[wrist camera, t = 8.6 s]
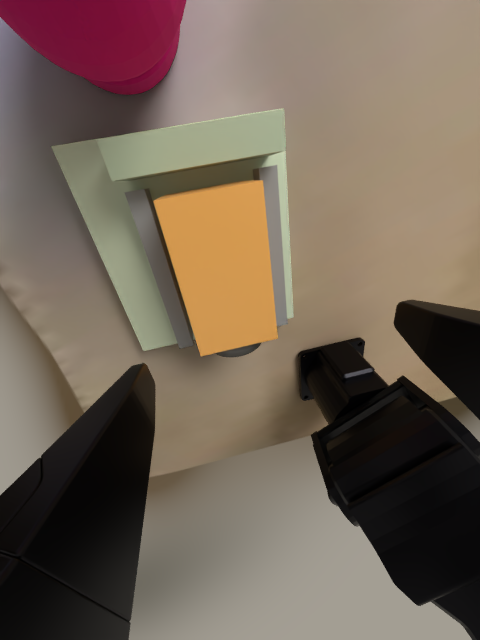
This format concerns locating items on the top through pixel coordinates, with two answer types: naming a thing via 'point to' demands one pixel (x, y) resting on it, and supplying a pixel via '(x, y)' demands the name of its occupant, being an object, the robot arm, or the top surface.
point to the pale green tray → (167, 178)
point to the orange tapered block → (222, 264)
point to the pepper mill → (102, 38)
